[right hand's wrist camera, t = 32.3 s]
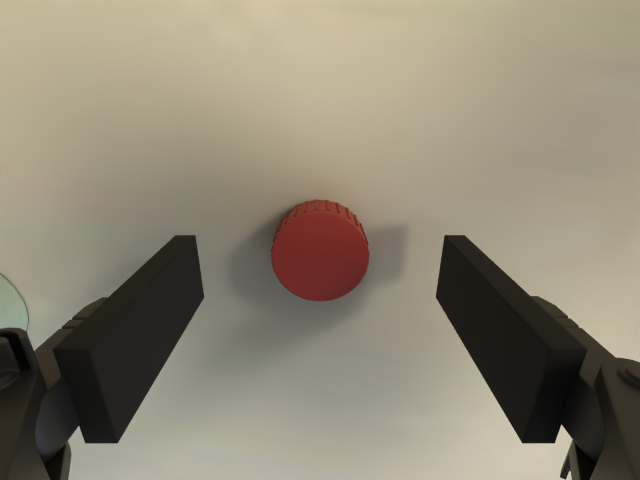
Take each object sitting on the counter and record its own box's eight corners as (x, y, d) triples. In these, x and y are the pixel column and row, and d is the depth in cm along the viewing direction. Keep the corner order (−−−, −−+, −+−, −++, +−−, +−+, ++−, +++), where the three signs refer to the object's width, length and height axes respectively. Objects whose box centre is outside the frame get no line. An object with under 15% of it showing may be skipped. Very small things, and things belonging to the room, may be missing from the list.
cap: (257, 228, 16) (250, 243, 14) (336, 181, 15) (338, 191, 13) (305, 295, 17) (304, 317, 15) (380, 256, 16) (387, 274, 14)
